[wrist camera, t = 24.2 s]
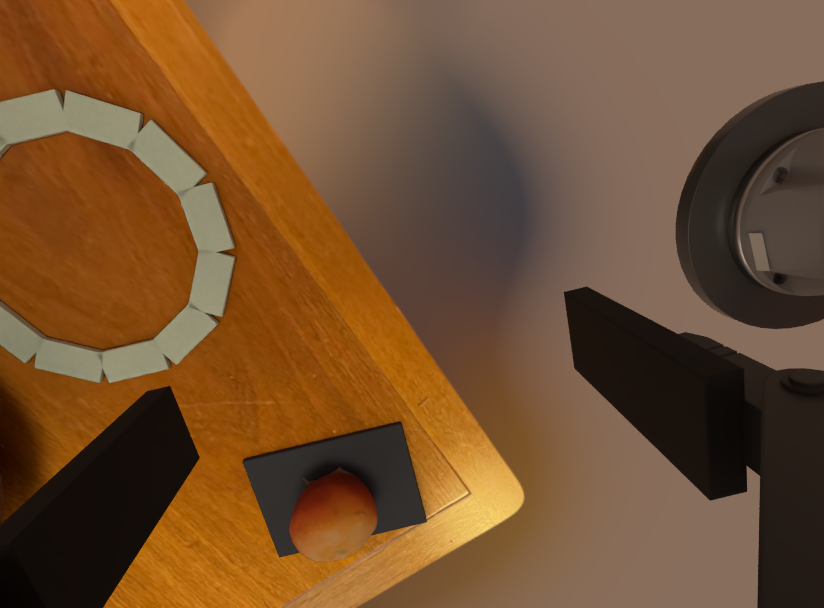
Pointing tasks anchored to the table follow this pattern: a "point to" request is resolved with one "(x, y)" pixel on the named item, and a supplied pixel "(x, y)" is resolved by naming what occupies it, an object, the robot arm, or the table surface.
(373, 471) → the mat
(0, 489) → the smooth stone
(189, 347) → the segmented grey ring
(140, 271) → the table surface
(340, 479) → the fruit
